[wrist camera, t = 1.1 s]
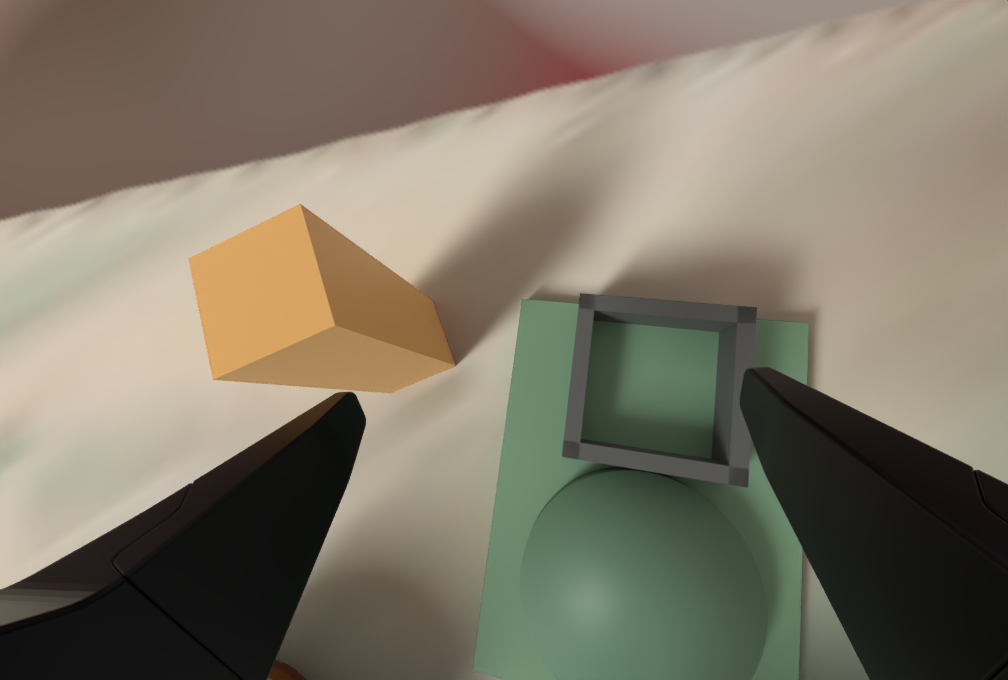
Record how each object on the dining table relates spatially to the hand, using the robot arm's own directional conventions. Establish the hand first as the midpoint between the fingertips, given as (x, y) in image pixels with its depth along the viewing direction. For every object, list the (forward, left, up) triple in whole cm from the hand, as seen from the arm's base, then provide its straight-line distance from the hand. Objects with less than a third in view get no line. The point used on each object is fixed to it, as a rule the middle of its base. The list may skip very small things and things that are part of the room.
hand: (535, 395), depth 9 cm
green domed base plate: (-4, -5, -14) cm, 16 cm away
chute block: (+1, +10, -14) cm, 17 cm away
